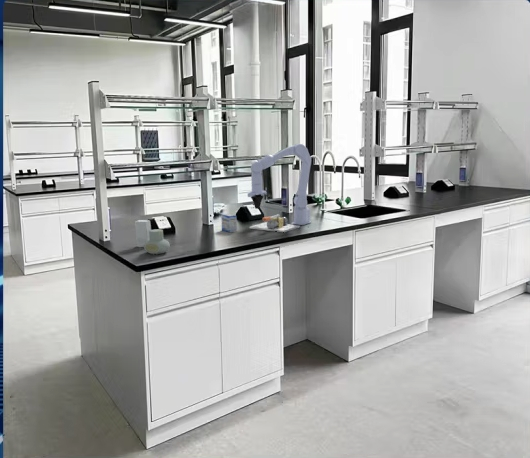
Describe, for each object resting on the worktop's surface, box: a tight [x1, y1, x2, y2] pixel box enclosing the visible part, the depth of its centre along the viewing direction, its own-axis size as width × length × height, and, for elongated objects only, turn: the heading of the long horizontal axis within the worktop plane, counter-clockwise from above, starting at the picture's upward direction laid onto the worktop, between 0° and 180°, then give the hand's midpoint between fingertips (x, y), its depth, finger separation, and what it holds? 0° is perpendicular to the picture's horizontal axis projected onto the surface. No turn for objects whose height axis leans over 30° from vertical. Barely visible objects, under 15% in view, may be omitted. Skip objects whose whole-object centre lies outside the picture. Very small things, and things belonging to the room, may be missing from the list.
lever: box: [262, 214, 281, 222], centre depth 254 cm, size 14×3×1 cm, turn 145°
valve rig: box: [249, 216, 301, 233], centre depth 260 cm, size 16×22×6 cm
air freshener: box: [143, 228, 171, 255], centre depth 210 cm, size 11×8×10 cm
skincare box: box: [134, 219, 152, 248], centre depth 222 cm, size 6×4×12 cm
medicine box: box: [220, 213, 238, 233], centre depth 254 cm, size 8×4×9 cm, turn 40°
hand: (257, 208), depth 267 cm, fingers closed
